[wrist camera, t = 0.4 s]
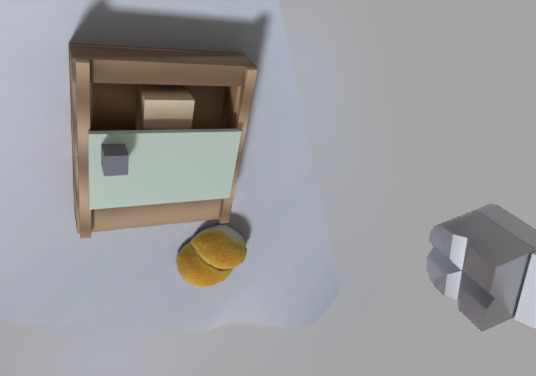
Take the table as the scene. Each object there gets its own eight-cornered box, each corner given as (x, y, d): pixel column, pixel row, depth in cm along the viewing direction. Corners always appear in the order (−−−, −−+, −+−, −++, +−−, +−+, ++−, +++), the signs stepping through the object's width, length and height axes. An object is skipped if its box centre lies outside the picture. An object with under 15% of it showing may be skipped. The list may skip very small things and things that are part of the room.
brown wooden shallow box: (68, 43, 40) (73, 62, 37) (243, 53, 47) (259, 70, 44) (74, 212, 49) (78, 238, 46) (218, 200, 56) (230, 222, 53)
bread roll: (162, 262, 59) (169, 285, 56) (212, 213, 58) (222, 234, 55) (206, 283, 64) (215, 305, 62) (252, 239, 63) (264, 259, 60)
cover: (87, 130, 40) (91, 146, 38) (239, 128, 46) (249, 141, 44) (88, 205, 45) (92, 223, 43) (227, 194, 51) (235, 209, 49)
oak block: (137, 83, 44) (144, 99, 41) (184, 84, 46) (194, 100, 43) (135, 126, 46) (142, 144, 44) (180, 126, 48) (189, 143, 45)
